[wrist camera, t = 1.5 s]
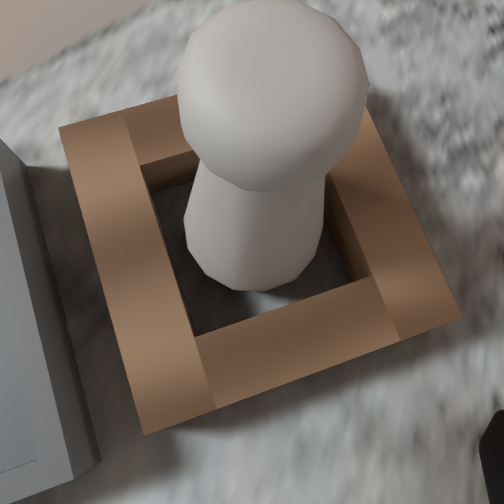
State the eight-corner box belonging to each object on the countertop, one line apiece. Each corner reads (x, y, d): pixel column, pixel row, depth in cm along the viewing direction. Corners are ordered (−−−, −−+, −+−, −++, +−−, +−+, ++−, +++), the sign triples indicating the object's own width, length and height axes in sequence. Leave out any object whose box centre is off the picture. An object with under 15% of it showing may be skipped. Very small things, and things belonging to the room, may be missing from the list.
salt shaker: (283, 167, 23) (346, -83, 11) (331, 272, 22) (470, 131, 9) (171, 208, 22) (95, -11, 10) (214, 320, 21) (192, 235, 8)
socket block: (431, 325, 21) (463, 317, 18) (156, 427, 20) (143, 436, 17) (326, 88, 24) (339, 49, 21) (80, 159, 23) (58, 127, 20)
